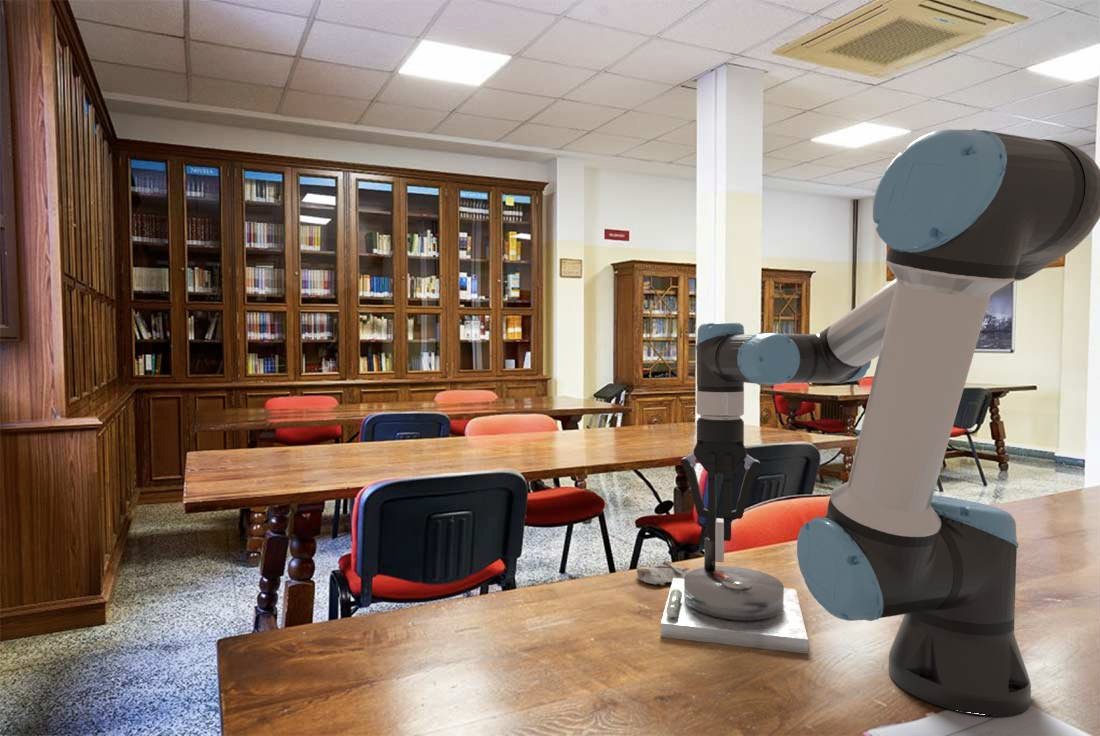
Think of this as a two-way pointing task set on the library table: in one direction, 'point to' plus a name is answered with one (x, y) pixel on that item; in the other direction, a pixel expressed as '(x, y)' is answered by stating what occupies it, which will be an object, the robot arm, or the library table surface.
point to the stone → (661, 573)
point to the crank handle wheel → (732, 590)
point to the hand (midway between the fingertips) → (719, 559)
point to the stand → (735, 625)
